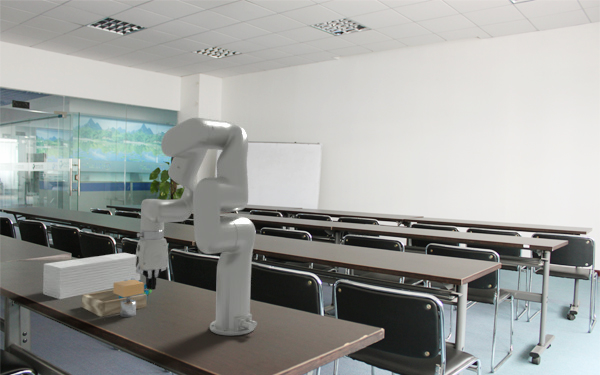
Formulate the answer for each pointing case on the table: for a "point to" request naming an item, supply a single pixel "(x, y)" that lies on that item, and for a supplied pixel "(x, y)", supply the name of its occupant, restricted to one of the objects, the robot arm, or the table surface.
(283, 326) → the table surface
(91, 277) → the stack of papers
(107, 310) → the chassis bay
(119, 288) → the block
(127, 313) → the silver metal rounded piece
